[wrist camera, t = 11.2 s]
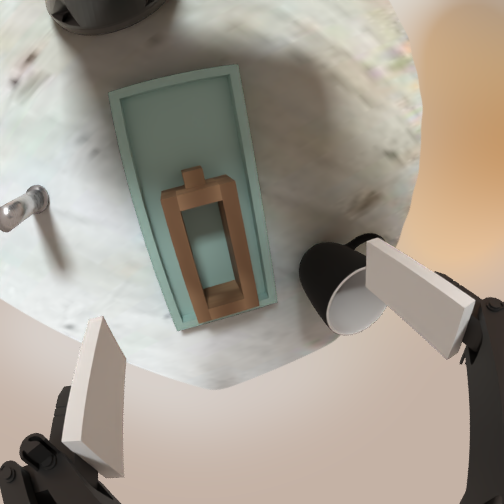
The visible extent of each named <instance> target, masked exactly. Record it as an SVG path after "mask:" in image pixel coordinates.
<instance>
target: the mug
mask: <svg viewBox="0 0 504 504" xmlns="http://www.w3.org/2000/svg"><path fill="white" fill-rule="evenodd" d="M375 238H380V239H381V240H383V241H385V240H384V239H383V238H382V237H381V236H379V235H377V234H374V233H367V234H363V235H360V236H358V237H356V238H355V239H353V240H352V241H351V242H349V243H348V244H345V245H341V244H337V243H332V242H325V243H320V244H317V245H315V246H313V247H312V248H310V249H309V250H308V251H307V252H306V253H305V255H304V256H303V258H302V260H301V263H300V268H299V275H300V280H301V283H302V286H303V288H304V290H305V292H306V294H307V296H308V298H309V300H310V301H311V303H312V305H313V306H314V308H315V309H316V311H317V312H318V314H319V315H320V317H321V318H322V319H323V321H324V322H325V323H326V325H327V326H328V327H329V328H330V329H331V330H332V331H333V332H335V333H337V334H339V335H353V334H356V333H359V332H362V331H363V330H365V329H367V328H368V327H370V326H371V325H372V324H373V323H375V321H377V320H378V318H379V317H380V316H381V315H382V314H383V312H384V311H385V309H386V307H387V305H386V304H385V303H384V302H383V301H381V300H380V299H379V298H378V297H377V296H376V295H375V294H373V293H372V292H371V291H370V290H369V289H368V288H366V287H365V284H366V256H365V255H363V254H361V253H359V252H357V251H355V248H356V247H357V246H359V245H360V244H362V243H364V242H366V241H369V240H372V239H375Z"/></svg>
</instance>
